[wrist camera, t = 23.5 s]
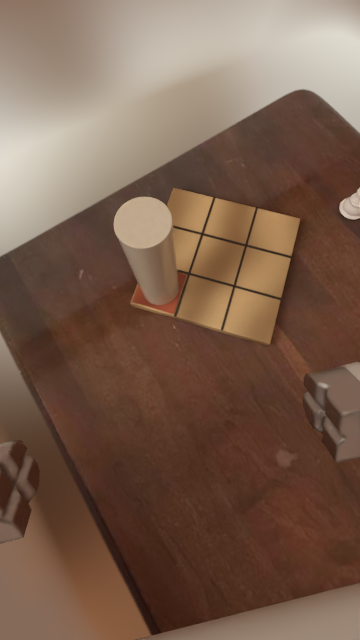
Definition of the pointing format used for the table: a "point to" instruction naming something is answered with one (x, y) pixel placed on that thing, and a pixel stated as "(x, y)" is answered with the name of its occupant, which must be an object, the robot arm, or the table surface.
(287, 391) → the table surface
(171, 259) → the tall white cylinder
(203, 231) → the board
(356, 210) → the chess pawn
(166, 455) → the table surface
